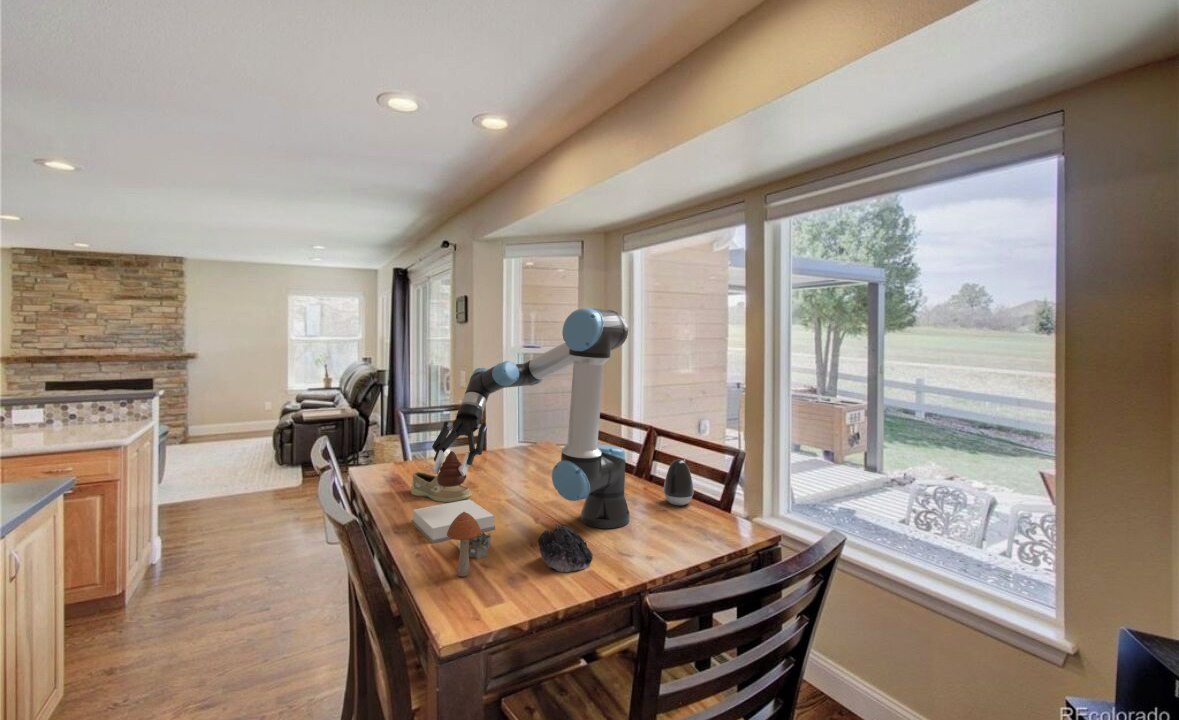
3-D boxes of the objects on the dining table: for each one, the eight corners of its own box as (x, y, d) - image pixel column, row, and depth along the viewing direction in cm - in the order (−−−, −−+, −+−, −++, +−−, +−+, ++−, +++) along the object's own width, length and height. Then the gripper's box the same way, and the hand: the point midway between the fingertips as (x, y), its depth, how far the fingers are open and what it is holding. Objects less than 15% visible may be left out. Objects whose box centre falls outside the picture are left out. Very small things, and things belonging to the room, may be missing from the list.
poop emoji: (441, 479, 157) (440, 449, 156) (469, 477, 158) (468, 447, 157) (434, 488, 147) (433, 456, 146) (464, 487, 148) (463, 455, 147)
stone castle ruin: (485, 560, 130) (485, 544, 129) (455, 559, 130) (455, 544, 129) (493, 543, 140) (493, 528, 140) (466, 542, 140) (466, 528, 140)
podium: (495, 529, 150) (495, 515, 149) (432, 543, 139) (432, 528, 139) (470, 511, 165) (470, 498, 164) (411, 522, 154) (411, 509, 154)
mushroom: (469, 563, 127) (470, 503, 126) (487, 574, 121) (488, 512, 121) (440, 573, 121) (440, 511, 121) (457, 585, 116) (457, 520, 115)
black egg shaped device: (697, 501, 178) (698, 458, 177) (686, 510, 169) (687, 464, 168) (670, 496, 183) (671, 454, 182) (658, 504, 174) (659, 460, 174)
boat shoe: (476, 498, 178) (476, 476, 177) (458, 506, 170) (458, 482, 170) (422, 488, 189) (422, 467, 188) (404, 495, 181) (404, 472, 181)
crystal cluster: (598, 556, 134) (596, 518, 135) (587, 575, 121) (585, 532, 121) (549, 555, 137) (547, 517, 137) (533, 573, 123) (531, 532, 124)
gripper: (504, 418, 165) (485, 481, 149) (445, 415, 168) (420, 476, 153) (499, 403, 159) (478, 468, 144) (437, 401, 163) (411, 463, 148)
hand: (448, 472), depth 149 cm, fingers closed on poop emoji, 8 cm apart
